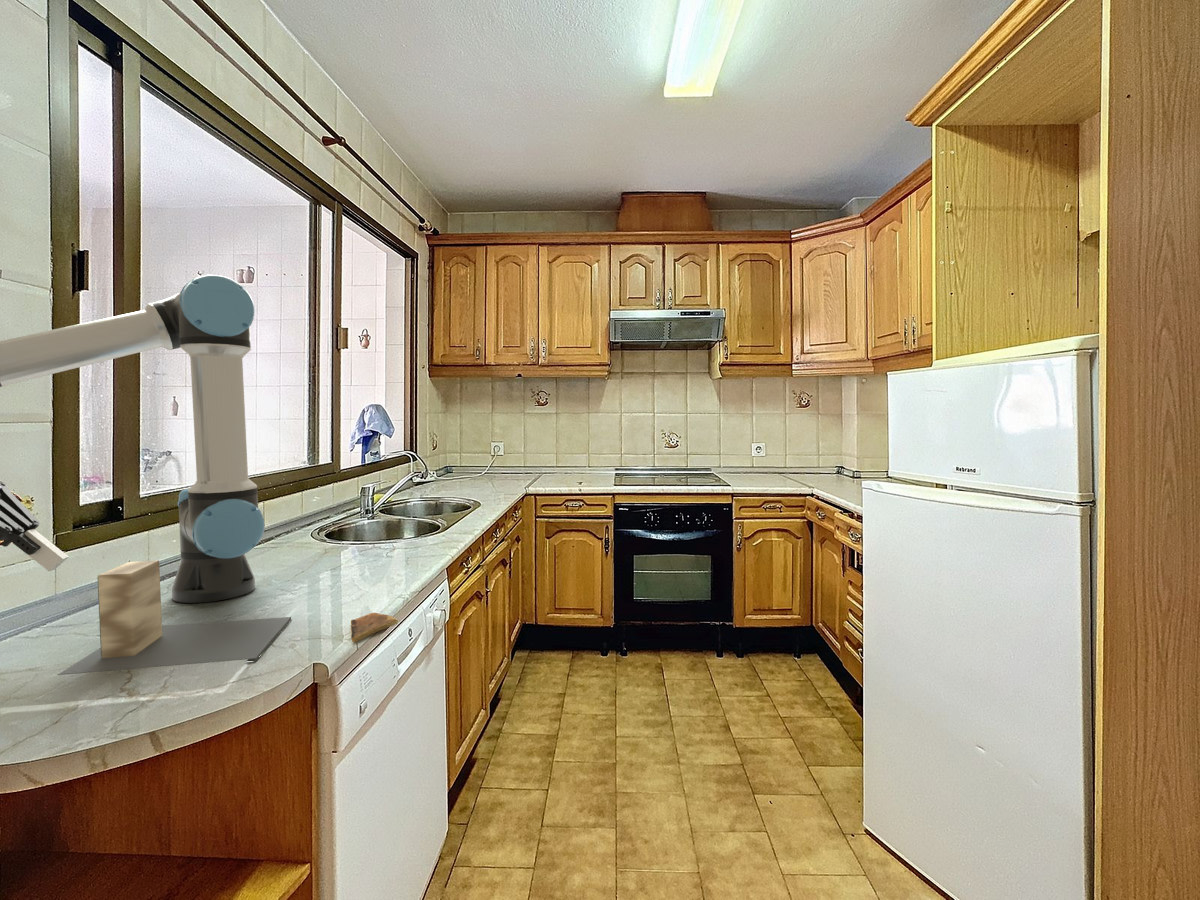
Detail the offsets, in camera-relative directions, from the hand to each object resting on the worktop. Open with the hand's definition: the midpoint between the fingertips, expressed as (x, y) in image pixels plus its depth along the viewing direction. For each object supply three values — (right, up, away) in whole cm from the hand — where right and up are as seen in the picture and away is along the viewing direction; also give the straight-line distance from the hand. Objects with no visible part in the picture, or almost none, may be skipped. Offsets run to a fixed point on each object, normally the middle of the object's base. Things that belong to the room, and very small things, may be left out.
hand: (59, 563), depth 95 cm
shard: (+45, -15, +13) cm, 49 cm away
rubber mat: (+17, -15, +5) cm, 23 cm away
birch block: (+9, -14, +3) cm, 17 cm away
